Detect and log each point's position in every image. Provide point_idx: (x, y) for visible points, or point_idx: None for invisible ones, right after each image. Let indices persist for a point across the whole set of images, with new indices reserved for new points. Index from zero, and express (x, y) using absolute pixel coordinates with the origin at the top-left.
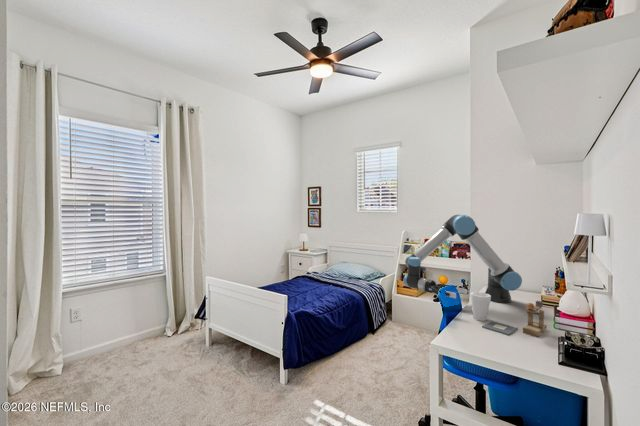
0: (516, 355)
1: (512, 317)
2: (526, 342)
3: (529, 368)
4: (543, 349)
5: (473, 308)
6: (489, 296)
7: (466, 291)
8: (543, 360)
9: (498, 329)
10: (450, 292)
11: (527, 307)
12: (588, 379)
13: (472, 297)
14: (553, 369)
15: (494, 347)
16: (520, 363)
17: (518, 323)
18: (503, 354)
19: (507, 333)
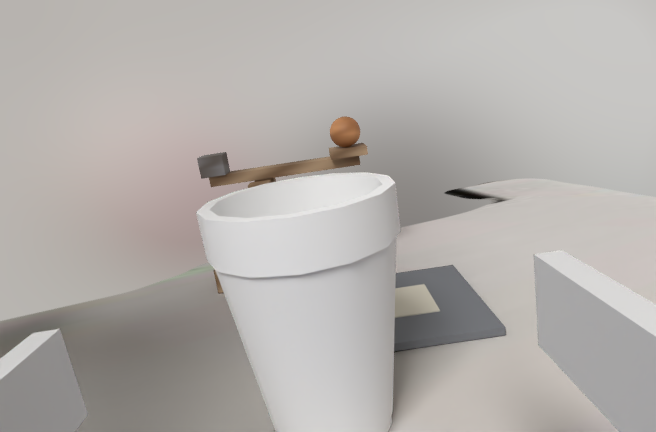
0: (598, 216)
1: (120, 360)
2: (449, 243)
3: (625, 195)
4: (449, 224)
5: (385, 346)
6: (299, 178)
7: (63, 366)
8: (529, 206)
9: (445, 291)
10: (637, 297)
11: (356, 137)
12: (510, 183)
13: (387, 227)
14: (551, 193)
15: (647, 239)
16: (631, 202)
17: (225, 316)
18: (650, 220)
19: (450, 268)
